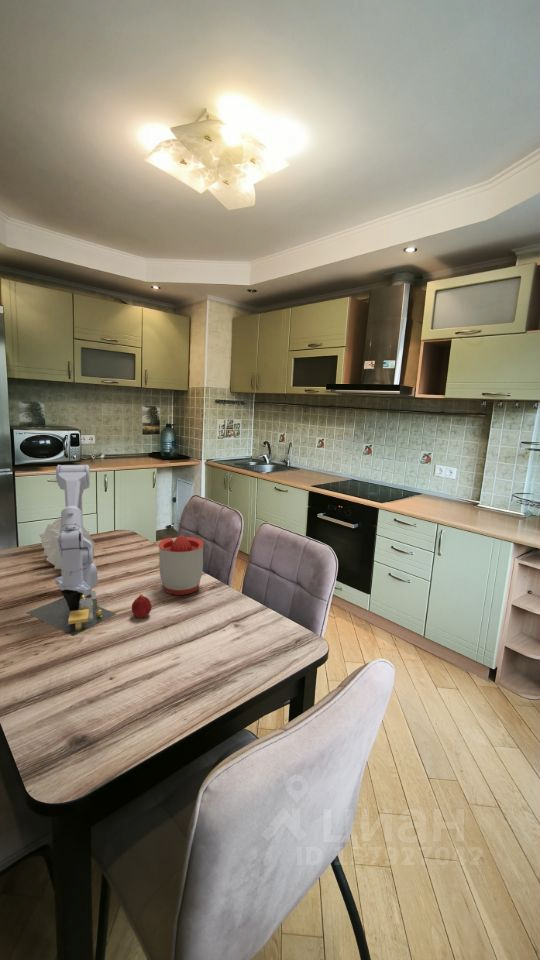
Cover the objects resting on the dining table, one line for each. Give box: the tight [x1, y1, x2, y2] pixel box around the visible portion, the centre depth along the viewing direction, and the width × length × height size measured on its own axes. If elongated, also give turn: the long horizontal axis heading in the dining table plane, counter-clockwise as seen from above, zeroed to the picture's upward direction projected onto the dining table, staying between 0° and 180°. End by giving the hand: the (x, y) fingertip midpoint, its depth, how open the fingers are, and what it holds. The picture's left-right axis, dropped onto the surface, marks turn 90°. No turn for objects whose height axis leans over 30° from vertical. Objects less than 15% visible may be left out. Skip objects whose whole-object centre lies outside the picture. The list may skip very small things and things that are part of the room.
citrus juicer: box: [157, 534, 205, 596], centre depth 147 cm, size 16×17×20 cm
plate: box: [26, 597, 117, 637], centre depth 127 cm, size 15×23×1 cm, turn 60°
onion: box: [131, 593, 153, 619], centre depth 126 cm, size 6×6×8 cm
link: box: [78, 590, 98, 624], centre depth 128 cm, size 15×6×4 cm, turn 27°
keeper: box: [68, 609, 89, 630], centre depth 120 cm, size 6×5×3 cm
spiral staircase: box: [39, 517, 96, 570], centre depth 166 cm, size 18×18×25 cm
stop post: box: [96, 609, 102, 618], centre depth 125 cm, size 2×2×2 cm
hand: (74, 611), depth 126 cm, fingers closed
